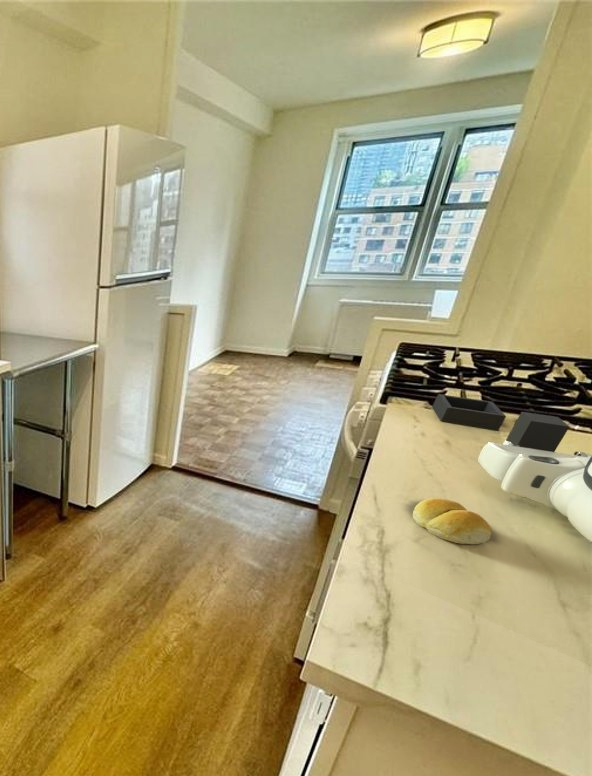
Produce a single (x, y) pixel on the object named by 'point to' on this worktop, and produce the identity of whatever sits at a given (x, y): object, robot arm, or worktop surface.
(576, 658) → the worktop surface
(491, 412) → the black open rectangular box
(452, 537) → the bread roll
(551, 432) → the dark grey block
